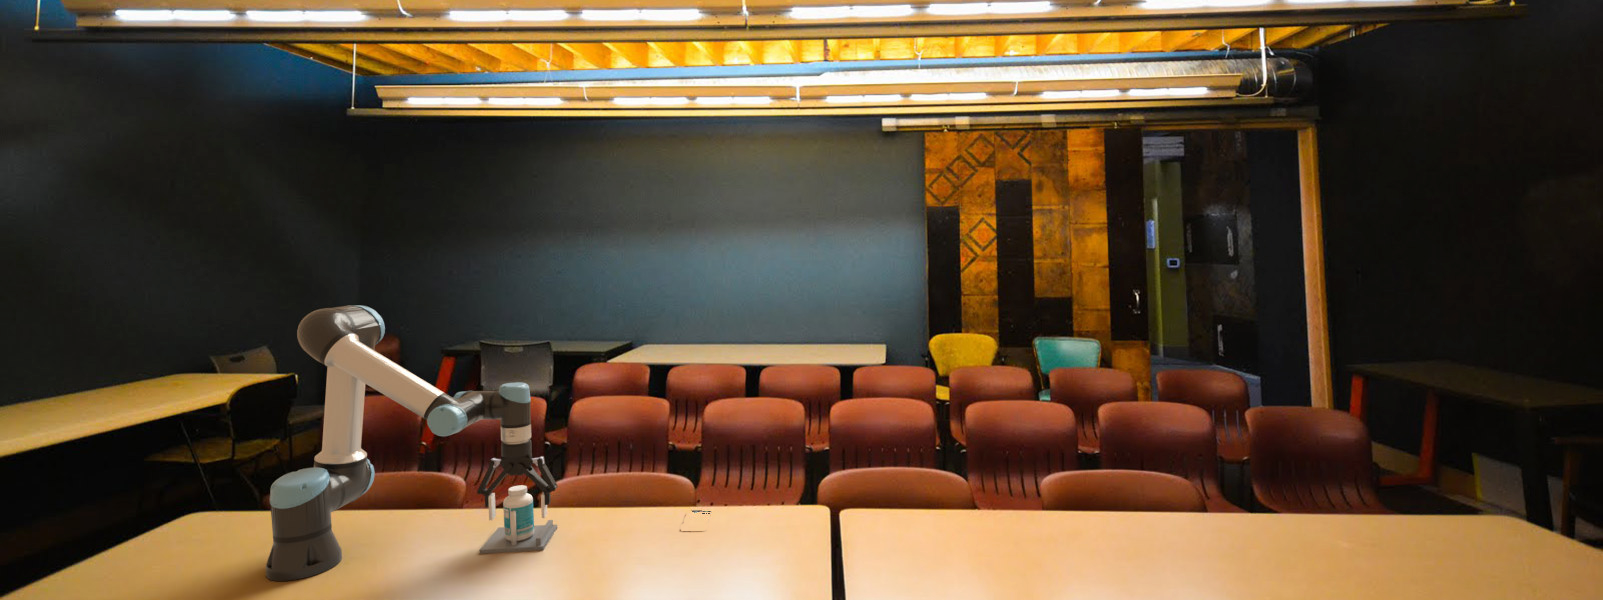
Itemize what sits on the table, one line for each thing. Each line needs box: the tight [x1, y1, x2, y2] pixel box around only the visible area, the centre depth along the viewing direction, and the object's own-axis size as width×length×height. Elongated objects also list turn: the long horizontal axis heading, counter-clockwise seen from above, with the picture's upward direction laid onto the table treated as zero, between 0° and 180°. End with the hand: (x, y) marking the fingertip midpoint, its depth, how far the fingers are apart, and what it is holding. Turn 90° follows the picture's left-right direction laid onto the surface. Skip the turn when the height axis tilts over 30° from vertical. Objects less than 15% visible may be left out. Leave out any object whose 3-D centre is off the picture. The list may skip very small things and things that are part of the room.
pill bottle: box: [502, 484, 535, 541], centre depth 176 cm, size 8×7×14 cm
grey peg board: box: [479, 511, 558, 554], centre depth 176 cm, size 16×14×10 cm
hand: (518, 517), depth 176 cm, fingers open, 13 cm apart
